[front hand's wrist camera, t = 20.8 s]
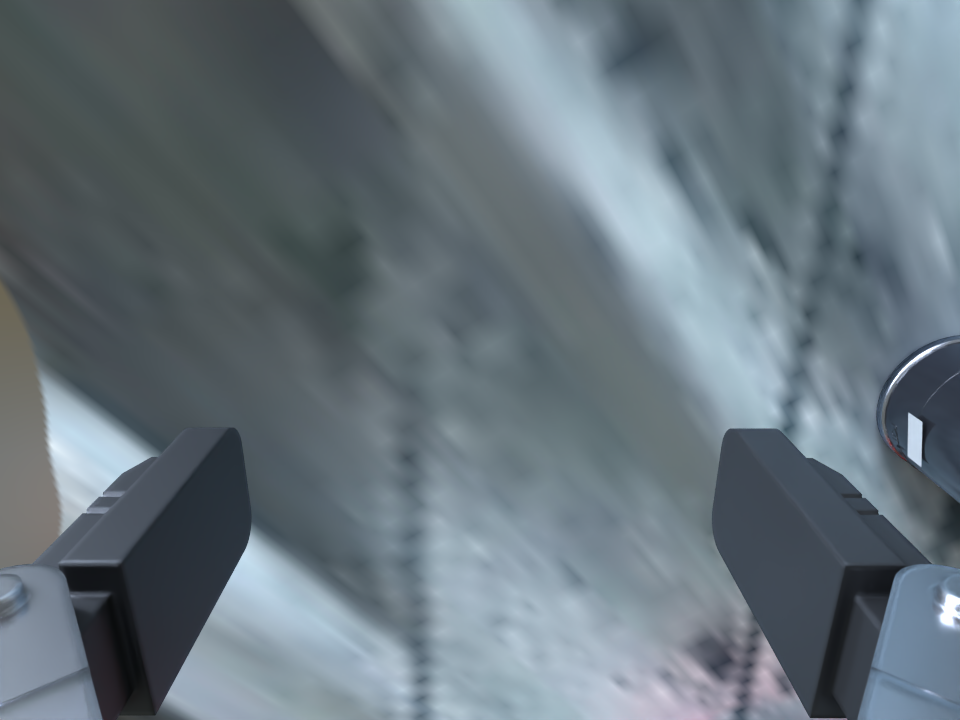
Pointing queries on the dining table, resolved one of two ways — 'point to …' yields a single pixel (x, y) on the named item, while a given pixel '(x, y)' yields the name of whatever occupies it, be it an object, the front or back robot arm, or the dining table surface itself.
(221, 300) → the dining table surface
